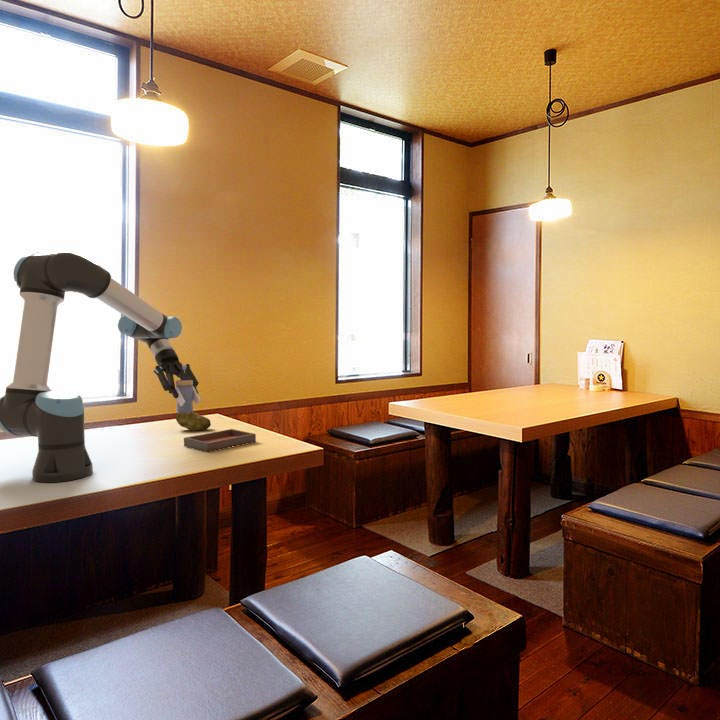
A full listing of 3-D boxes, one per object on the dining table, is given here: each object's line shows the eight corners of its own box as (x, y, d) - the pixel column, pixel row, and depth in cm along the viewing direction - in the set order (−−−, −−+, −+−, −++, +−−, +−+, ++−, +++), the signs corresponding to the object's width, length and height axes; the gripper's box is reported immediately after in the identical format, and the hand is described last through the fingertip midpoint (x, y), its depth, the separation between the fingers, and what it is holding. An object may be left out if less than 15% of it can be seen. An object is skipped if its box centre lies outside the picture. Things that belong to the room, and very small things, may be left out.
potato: (201, 433, 219) (201, 412, 219) (172, 431, 223) (172, 411, 222) (213, 428, 227) (212, 409, 226) (184, 427, 231) (184, 407, 230)
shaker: (182, 413, 198) (181, 381, 197) (173, 411, 202) (172, 380, 201) (196, 411, 202) (196, 380, 201) (187, 409, 206) (187, 379, 205)
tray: (207, 452, 187) (207, 443, 187) (184, 446, 197) (183, 437, 196) (255, 442, 202) (255, 433, 202) (231, 436, 212) (231, 428, 211)
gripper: (183, 360, 218) (209, 406, 208) (137, 362, 204) (162, 413, 194) (190, 346, 214) (217, 393, 204) (144, 348, 200) (170, 399, 190)
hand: (190, 403), depth 199 cm, fingers closed on shaker, 5 cm apart
